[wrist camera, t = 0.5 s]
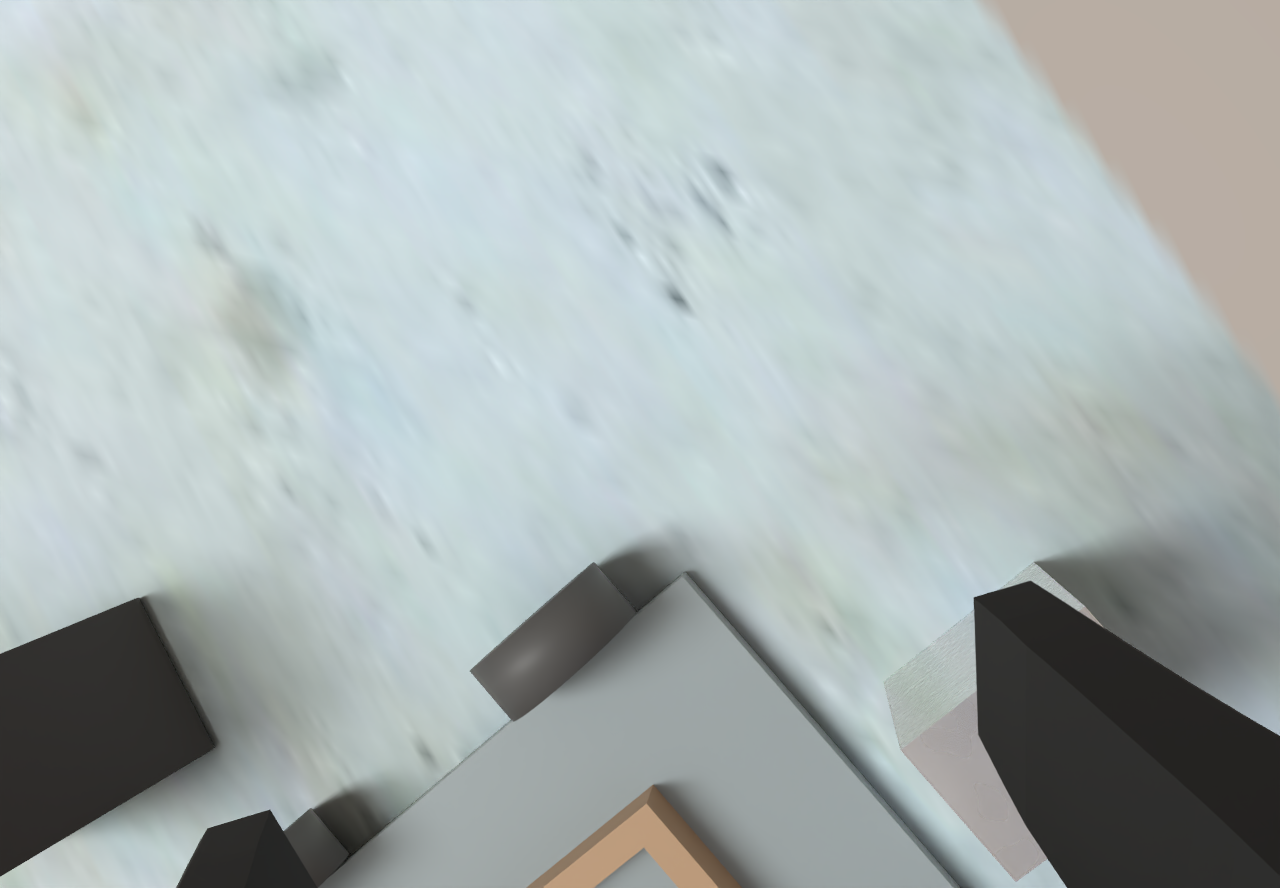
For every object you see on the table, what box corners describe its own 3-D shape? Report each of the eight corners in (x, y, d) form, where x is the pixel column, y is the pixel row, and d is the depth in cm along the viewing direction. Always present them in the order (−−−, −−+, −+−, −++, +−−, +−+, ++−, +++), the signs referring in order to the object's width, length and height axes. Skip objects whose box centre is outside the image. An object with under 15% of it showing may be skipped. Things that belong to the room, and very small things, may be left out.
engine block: (1131, 672, 32) (1206, 742, 26) (977, 789, 33) (1016, 882, 27) (1033, 561, 32) (1084, 606, 26) (883, 681, 33) (900, 749, 27)
